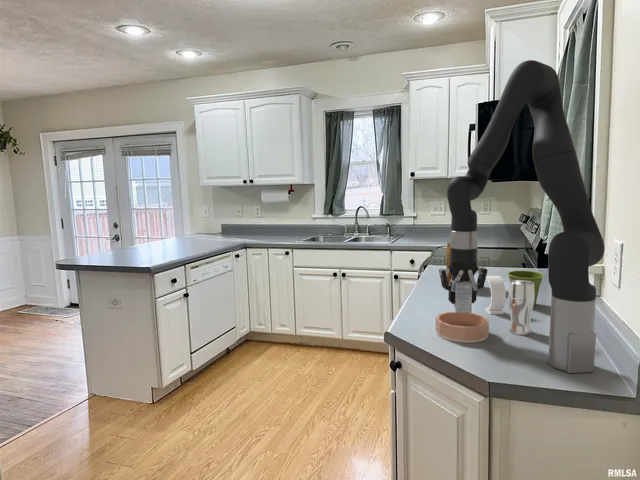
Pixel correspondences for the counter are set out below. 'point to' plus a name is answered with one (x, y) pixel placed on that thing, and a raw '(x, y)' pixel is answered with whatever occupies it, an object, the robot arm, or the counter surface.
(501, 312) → the headphone stand
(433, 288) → the counter surface
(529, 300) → the beer glass
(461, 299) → the medicine box
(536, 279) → the plant pot
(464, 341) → the bowl
